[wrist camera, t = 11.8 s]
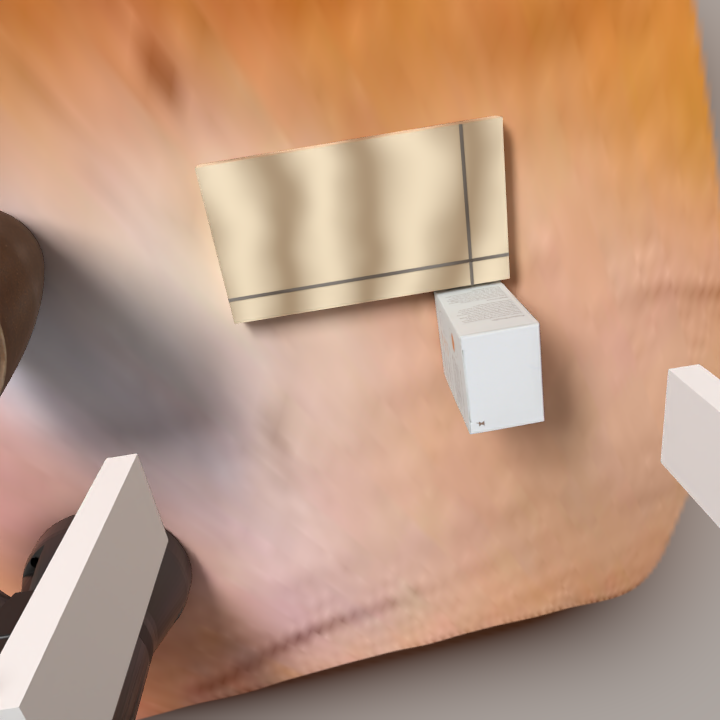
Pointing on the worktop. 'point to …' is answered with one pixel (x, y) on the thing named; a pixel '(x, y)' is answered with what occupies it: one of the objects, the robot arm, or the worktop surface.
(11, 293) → the plant pot
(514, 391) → the small box
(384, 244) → the board
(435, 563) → the worktop surface
